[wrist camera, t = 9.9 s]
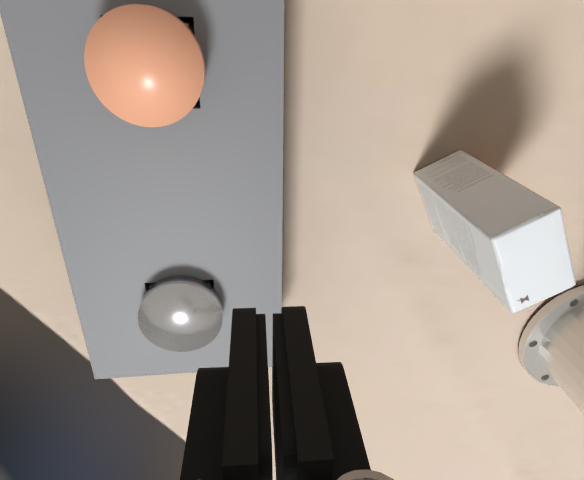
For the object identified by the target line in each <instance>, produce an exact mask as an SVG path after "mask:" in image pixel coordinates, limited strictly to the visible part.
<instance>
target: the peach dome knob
mask: <svg viewBox="0 0 584 480" xmlns="http://www.w3.org/2000/svg"><path fill="white" fill-rule="evenodd" d="M84 64H85V70H86V74H87V78H88V81H89V83H90V86H91V87H92V89H93V91H94V93H95V95H96V96H97V97H98V99H99V100H100V101H101V103H102V104H103V105H104V106H105V107H106V108H107V109H108V110H109V111H110V112H112V113H113V114H114V115H116V116H117V117H119V118H121V119H122V120H124V121H126V122H129V123H131V124H134V125H138V126H143V127H162V126H167V125H170V124H172V123H175V122H177V121H179V120H180V119H182V118H183V117H184V116H186V115H187V114H188V113H189V112H190V111H191V110H192V108H193V107H194V106H195V104H196V103H197V101H198V99H199V97H200V94H201V92H202V89H203V86H204V81H205V61H204V56H203V53H202V50H201V47H200V45H199V43H198V41H197V39H196V37H195V32H194V22H182V21H181V20H180V19H179V18H178V17H176V16H175V15H173V14H172V13H170V12H168V11H166V10H164V9H161V8H159V7H155V6H151V5H142V4H129V5H124V6H120V7H117V8H114V9H112V10H110V11H109V12H107V13H106V14H104V15H103V16H102V17H100V19H99V20H98V21H97V22H96V23H95V24H94V26H93V27H92V29H91V31H90V33H89V35H88V37H87V41H86V44H85V51H84Z"/></svg>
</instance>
